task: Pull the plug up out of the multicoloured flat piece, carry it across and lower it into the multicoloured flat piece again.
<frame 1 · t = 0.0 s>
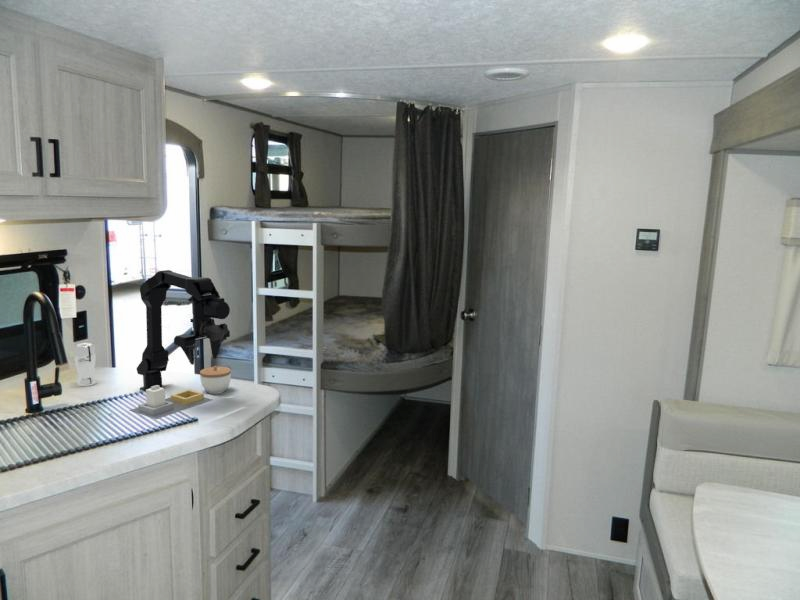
hand: (203, 361, 191), 15 cm above the countertop, fingers open, 9 cm apart
plug: (156, 410, 183), point 1 cm above the countertop, touching multicoloured flat piece
multicoloured flat piece: (172, 407, 188), on the countertop
beer glass: (86, 384, 212), on the countertop
lidded jar: (216, 391, 206), on the countertop
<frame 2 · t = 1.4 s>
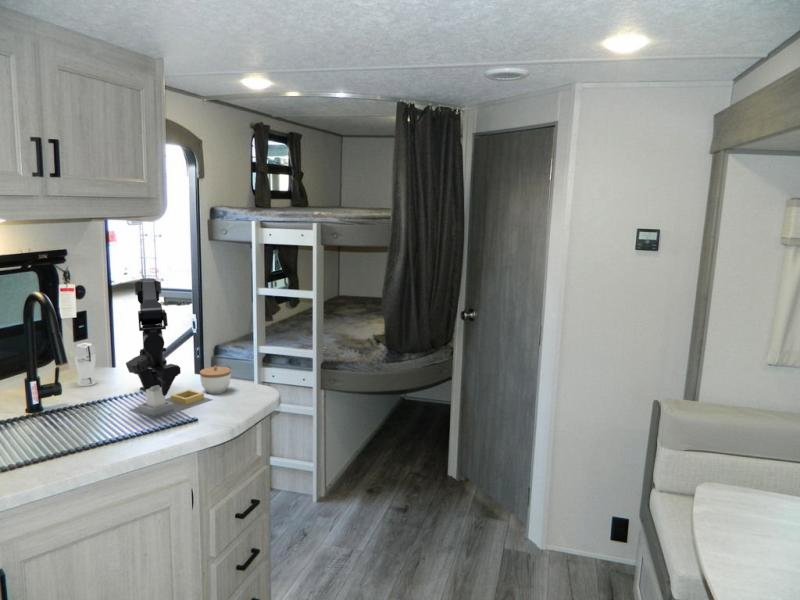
hand: (155, 392, 182), 7 cm above the countertop, fingers open, 9 cm apart
nothing on the countertop moved.
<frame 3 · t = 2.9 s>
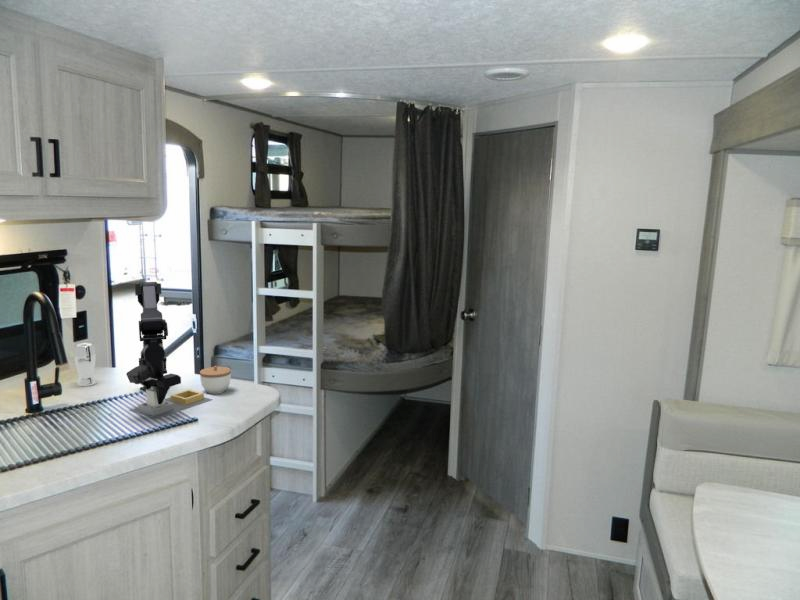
hand: (156, 402, 183), 4 cm above the countertop, fingers closed on plug, 4 cm apart
plug: (156, 410, 183), point 1 cm above the countertop, touching gripper, multicoloured flat piece
everything else where it was.
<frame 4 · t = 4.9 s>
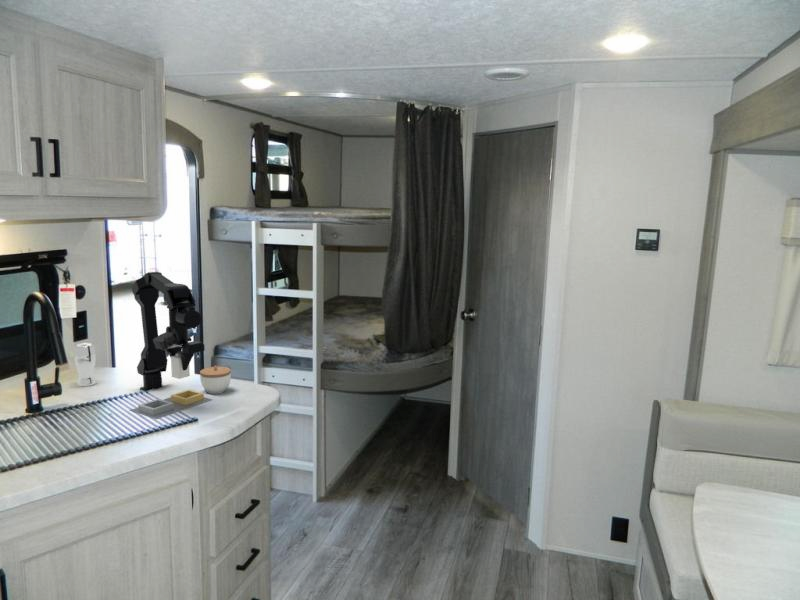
hand: (180, 369, 189), 12 cm above the countertop, fingers closed on plug, 4 cm apart
plug: (180, 376, 190), point 10 cm above the countertop, touching gripper
everything else where it was.
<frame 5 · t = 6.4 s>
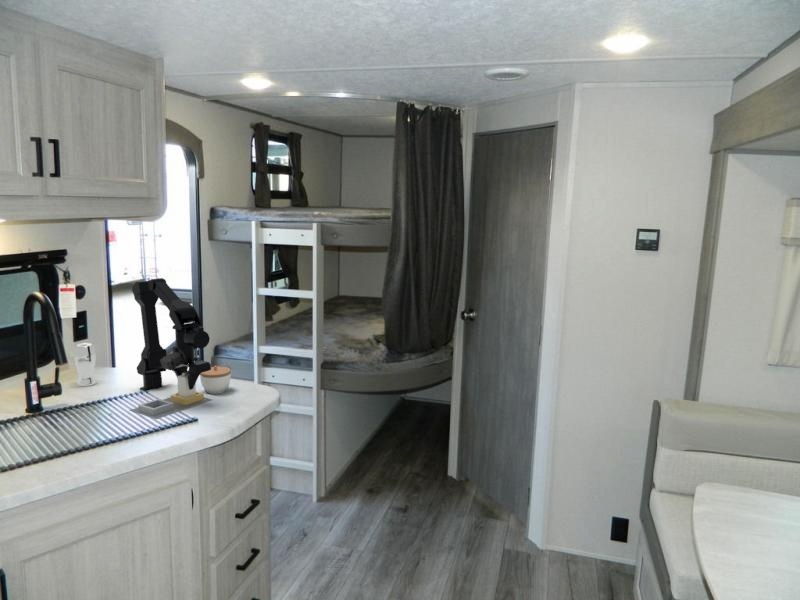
hand: (186, 388, 192), 5 cm above the countertop, fingers closed on plug, 4 cm apart
plug: (187, 395, 193), point 3 cm above the countertop, touching gripper
everything else where it was.
when the fingers open (4 cm above the countertop, at t = 7.3 s): plug stays where it is, resting on multicoloured flat piece.
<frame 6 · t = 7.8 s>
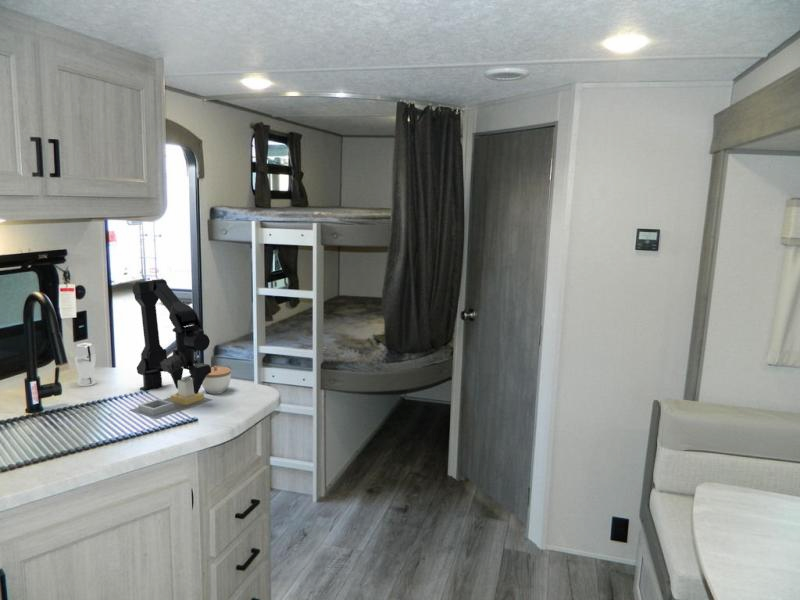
hand: (187, 390, 193), 4 cm above the countertop, fingers open, 9 cm apart
plug: (187, 399, 193), point 1 cm above the countertop, touching multicoloured flat piece
everything else where it was.
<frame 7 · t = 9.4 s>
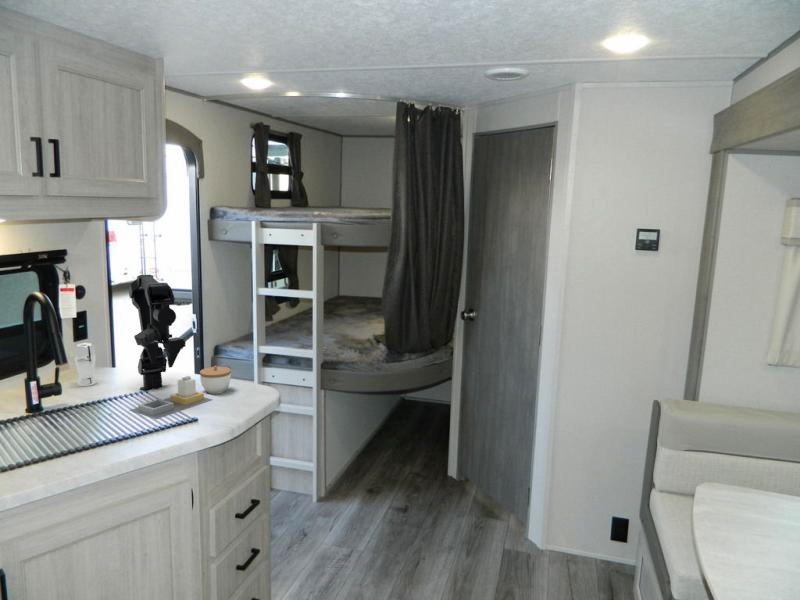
hand: (161, 365, 193), 12 cm above the countertop, fingers open, 9 cm apart
nothing on the countertop moved.
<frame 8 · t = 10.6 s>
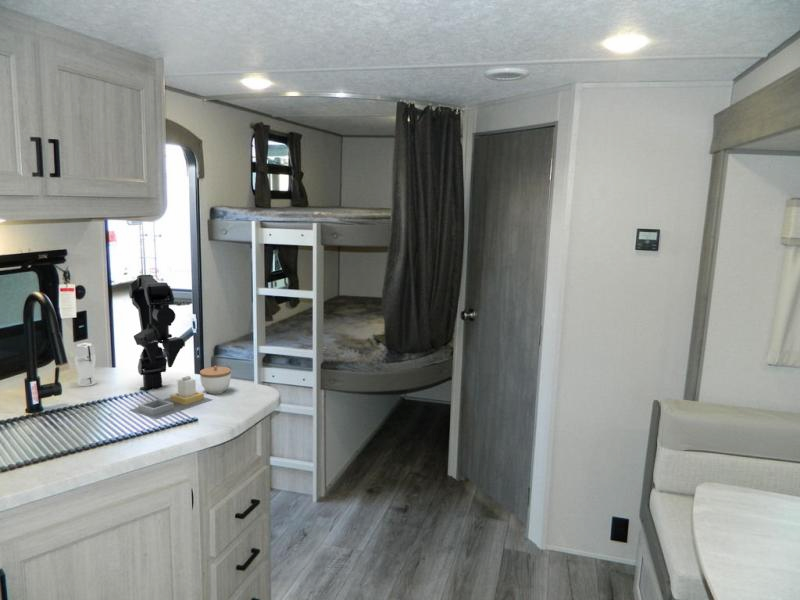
hand: (161, 365, 193), 13 cm above the countertop, fingers open, 9 cm apart
nothing on the countertop moved.
at the end: plug 0.1 cm from the target spot on the multicoloured flat piece, point 1.0 cm above the multicoloured flat piece's base; plug tilted 0°; the gripper is holding nothing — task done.
